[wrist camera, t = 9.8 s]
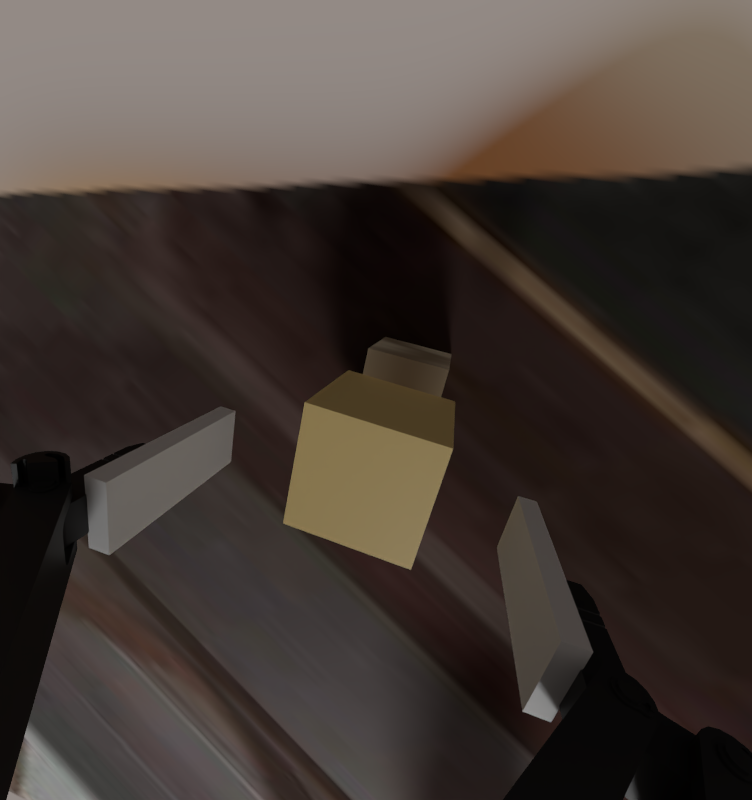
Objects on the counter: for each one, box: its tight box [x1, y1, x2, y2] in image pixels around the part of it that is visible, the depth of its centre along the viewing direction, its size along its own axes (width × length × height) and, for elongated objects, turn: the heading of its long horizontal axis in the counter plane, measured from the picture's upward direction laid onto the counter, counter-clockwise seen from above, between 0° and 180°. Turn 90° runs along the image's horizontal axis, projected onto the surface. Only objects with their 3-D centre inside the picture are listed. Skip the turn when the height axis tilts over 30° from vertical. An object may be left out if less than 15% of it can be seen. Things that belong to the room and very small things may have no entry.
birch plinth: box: [363, 337, 451, 397], centre depth 23 cm, size 4×9×5 cm, turn 167°
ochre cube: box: [283, 370, 455, 570], centre depth 18 cm, size 6×6×6 cm
